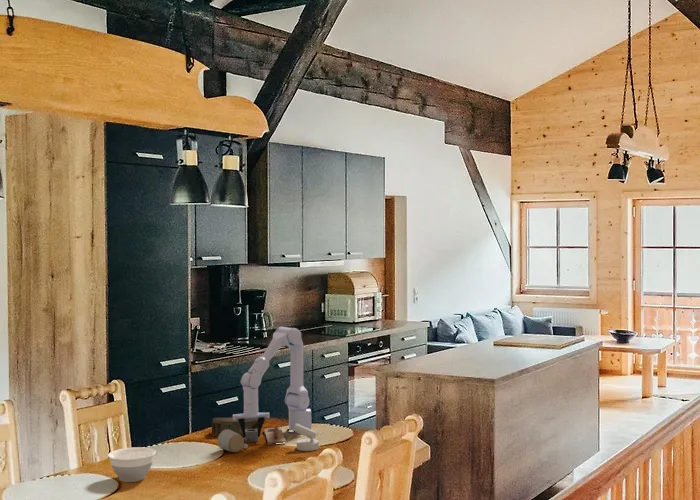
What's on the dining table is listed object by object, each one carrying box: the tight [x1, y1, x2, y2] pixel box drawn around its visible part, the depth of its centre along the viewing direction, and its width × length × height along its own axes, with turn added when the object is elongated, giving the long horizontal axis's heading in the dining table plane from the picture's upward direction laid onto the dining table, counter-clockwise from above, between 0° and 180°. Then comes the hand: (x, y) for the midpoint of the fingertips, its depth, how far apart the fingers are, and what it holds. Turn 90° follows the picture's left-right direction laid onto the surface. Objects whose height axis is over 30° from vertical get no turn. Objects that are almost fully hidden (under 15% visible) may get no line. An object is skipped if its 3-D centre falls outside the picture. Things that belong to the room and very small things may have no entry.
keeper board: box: [263, 426, 287, 446], centre depth 340 cm, size 7×22×6 cm, turn 10°
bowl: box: [107, 446, 157, 483], centre depth 286 cm, size 16×16×8 cm
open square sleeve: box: [244, 429, 259, 443], centre depth 336 cm, size 5×5×4 cm
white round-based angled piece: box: [293, 423, 320, 452], centre depth 324 cm, size 9×10×10 cm
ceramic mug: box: [217, 429, 249, 454], centre depth 321 cm, size 11×8×8 cm
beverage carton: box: [211, 416, 258, 437], centre depth 348 cm, size 8×19×7 cm, turn 99°
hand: (251, 436), depth 336 cm, fingers closed on open square sleeve, 5 cm apart
